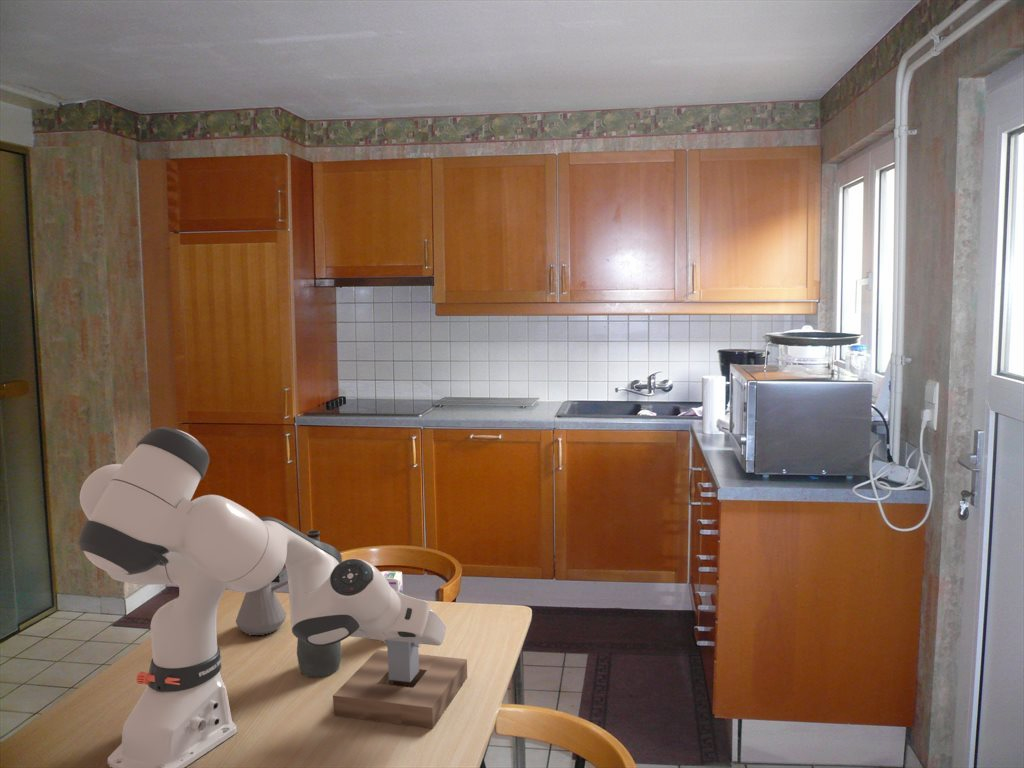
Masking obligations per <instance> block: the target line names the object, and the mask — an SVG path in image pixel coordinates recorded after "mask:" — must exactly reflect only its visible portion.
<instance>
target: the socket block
mask: <svg viewBox="0 0 1024 768" xmlns="http://www.w3.org/2000/svg"><path fill="white" fill-rule="evenodd" d="M418 656H419V672H418V673H417V675H416V676H415V677H414V678H413V679H412V681H411V682H405V681H396V680H389V672H388V650H381V649H380V650H379V649H377V650H376V651H375V652H373V654H372V655H371V656H369V658H368V659H367V660H366V661H365V662H364V663H363V664H362V665H361V666H360V667H359V668H358V669H357V670H356V671H355V672H354V673H353V674H352V675H351V677H349V678H348V679H347V681H346V682H344V684H343V685H342V686H341V687H340V688H338V690H337V691H335V693H334V694H333V695H332V703H333V704H332V705H333V707H332V708H333V716H334V717H342V718H350V719H357V720H365V721H373V722H382V723H389V724H396V725H404V726H411V727H420V728H429V729H434V728H435V726H436V725H437V724H438V722H439V721H440V719H441V717H442V716H443V715H444V713H445V712H444V711H447V708H449V706H450V704H451V703H452V702H453V700H454V698H455V696H456V695H457V694H458V692H459V691H460V689H462V687H463V685H464V684H463V683H465V682H466V681H467V679H468V659H467V658H458V657H448V656H439V655H438V656H437V655H428V654H421V653H418ZM465 680H466V681H465ZM407 686H408V687H407ZM452 699H453V700H452ZM442 714H443V715H442Z"/></svg>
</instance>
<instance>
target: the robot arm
mask: <svg viewBox="0 0 1024 768" xmlns="http://www.w3.org/2000/svg"><path fill="white" fill-rule="evenodd" d="M209 464H210V456H209V453H208V451H207V449H206V447H205V446H204V445H203V444H202V443H201V442H199V440H198V439H197V438H195V437H194V436H193V435H192V434H190V433H187V432H185V431H183V430H180V429H176V428H173V427H169V426H161V427H157V428H153V429H151V430H149V432H147V433H146V434H145V435H143V437H141V438H140V439H139V440H138V441H137V443H136V447H135V449H134V450H133V451H132V452H131V453H130V454H129V456H127V458H126V459H125V460H124V462H123V463H122V464H121V463H113V464H107V465H104V466H101V467H100V468H97V469H96V470H94V471H93V472H92V473H90V474H89V476H88V477H86V479H85V480H84V482H83V484H82V486H81V489H80V491H79V504H80V506H81V509H82V511H83V513H84V515H85V517H86V518H87V519H88V520H85V522H84V524H83V526H82V529H81V531H80V533H79V536H78V541H77V545H78V548H79V551H80V552H82V554H83V555H85V557H86V558H87V559H88V560H89V561H90V563H92V564H93V565H94V566H96V567H97V568H99V569H101V570H102V571H105V572H107V575H108V576H109V577H110V578H111V579H112V580H114V581H118V582H122V583H127V584H133V585H138V586H139V585H141V586H143V585H144V586H145V585H146V586H148V585H151V586H152V585H157V586H158V585H177V586H178V588H179V589H178V590H179V593H178V594H179V595H178V597H175V598H174V599H172V600H170V601H168V602H166V603H165V604H164V605H162V606H160V607H159V608H158V609H157V610H156V611H155V613H154V614H153V616H152V619H151V622H150V627H149V628H150V639H151V640H150V641H151V648H152V649H151V651H152V658H151V659H150V665H149V669H148V672H145V671H140V672H139V671H138V673H137V674H136V679H135V681H136V683H137V684H141V685H147V686H146V687H145V689H144V691H143V692H142V694H141V696H140V697H139V699H138V701H137V702H136V704H135V705H134V708H133V709H132V711H131V712H130V714H129V716H128V717H127V718H126V720H125V722H124V723H123V726H122V732H121V743H120V744H119V746H117V747H116V749H115V750H114V751H113V752H112V753H111V754H110V755H109V756H108V757H107V765H108V764H109V765H110V766H111V767H114V768H186V767H187V766H189V765H190V764H192V763H194V762H195V761H196V760H198V759H199V758H201V757H202V756H205V754H207V753H208V752H210V751H212V750H213V749H215V748H216V747H217V746H218V745H220V744H222V743H224V742H225V741H227V740H228V739H230V737H232V736H234V735H236V733H237V732H238V729H237V725H236V723H235V722H234V721H233V720H232V719H233V717H232V713H231V709H230V708H231V707H230V703H229V697H228V693H227V691H228V690H227V687H226V685H225V683H224V681H223V678H222V675H221V672H220V671H221V669H222V655H221V650H220V649H221V648H220V647H219V646H218V635H217V627H218V625H217V623H218V622H217V621H218V620H217V619H218V608H219V604H220V602H221V599H222V596H223V595H224V593H225V591H226V590H227V589H228V590H230V591H232V592H236V593H241V594H244V593H245V594H246V592H252V591H256V590H259V589H261V588H263V587H265V586H266V585H268V584H269V583H270V582H271V583H272V581H274V580H275V579H276V578H277V577H278V576H279V574H281V572H282V570H283V568H284V567H285V569H286V574H287V581H288V584H287V585H288V595H289V596H288V599H289V613H290V622H291V623H290V625H291V633H292V634H293V636H295V638H297V640H298V639H299V640H301V641H303V642H305V643H308V644H311V645H314V646H327V645H331V644H335V643H337V642H342V641H343V640H345V639H347V638H349V637H352V638H361V639H371V640H375V641H377V640H378V641H382V642H383V643H384V645H387V640H389V641H399V642H409V643H411V645H412V646H413V647H418V648H421V646H422V645H428V646H441V645H443V643H444V640H445V636H446V632H447V631H446V630H447V627H446V625H445V623H444V621H443V620H442V619H441V617H440V616H439V614H437V613H436V612H435V611H434V610H432V609H430V606H431V605H430V603H429V602H428V601H426V600H423V599H419V598H416V597H412V596H409V595H406V594H404V593H403V594H402V593H400V592H397V591H395V590H394V589H393V588H392V587H390V585H389V583H388V581H387V580H386V578H385V577H384V576H383V575H382V574H381V572H382V571H380V570H379V568H377V567H376V566H374V565H373V564H371V563H370V562H369V561H366V560H365V559H364V560H363V559H360V558H348V559H345V560H343V556H342V554H341V552H340V551H339V550H338V549H337V548H336V547H334V546H333V545H331V544H329V543H327V542H323V541H321V540H320V541H316V540H314V539H312V538H310V537H308V536H307V534H305V533H303V532H301V531H300V530H298V529H296V528H295V527H293V526H291V525H289V524H288V523H286V522H284V521H282V520H280V519H278V518H276V517H272V516H261V517H259V516H257V515H256V514H255V513H254V512H252V511H250V510H249V509H247V508H246V507H244V506H242V505H241V504H239V503H238V502H235V501H234V500H231V499H230V498H229V499H228V498H227V497H224V496H222V495H219V494H218V495H217V494H206V495H202V496H199V497H196V498H194V499H193V496H194V494H195V493H196V492H195V491H196V490H197V488H198V485H199V484H200V481H201V480H203V479H204V478H205V476H206V473H207V470H208V467H209ZM192 499H193V500H192ZM271 583H270V584H271ZM109 765H108V766H109ZM110 766H109V767H110ZM111 767H110V768H111Z"/></svg>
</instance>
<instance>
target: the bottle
mask: <svg viewBox="0 0 1024 768" xmlns="http://www.w3.org/2000/svg"><path fill="white" fill-rule="evenodd" d="M320 533H321V532H320V531H319V530H318V529H311V530H308V531H307V532H306V534H305V535H306V536H308V537H310V538H312V539H314V540H316V541H320V542H321V539H320ZM341 642H342V641H340V642H337V643H335V644H331V645H327V646H314V645H311V644H308V643H305V642H303V641H301V640H299V639H298V638H297V643H296V644H297V645H296V656H297V662H298V667H299V669H300V672H301V674H302V675H304V676H306V677H310V678H322V677H328V676H330V675H332V674H334V673H337V672H338V670H339V669H340V665H341V661H342V651H343V649H342V643H341Z"/></svg>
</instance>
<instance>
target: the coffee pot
mask: <svg viewBox="0 0 1024 768" xmlns="http://www.w3.org/2000/svg"><path fill="white" fill-rule="evenodd" d="M271 583H272V582H270V583H269V584H268V585H266V586H265V587H263V588H261V589H259V590H256V591H252V592H246V593H245V594H244V596H243V600H242V602H241V605H240V608H239V610H238V613H237V616H236V620H235V624H236V625H237V627H238V629H240V630H241V631H242V632H243V633H245V632H246V633H247V634H250V635H249V636H251V635H262V636H265V635H264V634H267V635H269V634H268V633H270V634H272V633H271V632H273V633H275V632H276V631H277V630H278V629H279V628H280V627H281V626H282V625H283V624H284V622H285V621H286V617H287V613H286V611H285V608H284V607H283V605H282V604H281V601H280V600H279V598H278V596H277V594H276V593H275V591H276V590H278V589H280V588H283V587H284V586H286V585H288V580H285V581H283V582H281V583H278V584H276V585H274V586H272V585H271ZM278 627H279V628H278ZM277 628H278V629H277ZM276 629H277V630H276ZM275 630H276V631H275ZM274 631H275V632H274ZM246 633H245V634H246ZM247 634H246V635H247Z"/></svg>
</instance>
